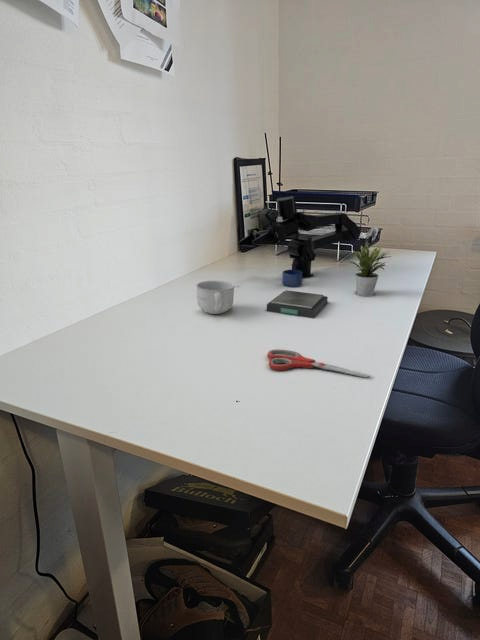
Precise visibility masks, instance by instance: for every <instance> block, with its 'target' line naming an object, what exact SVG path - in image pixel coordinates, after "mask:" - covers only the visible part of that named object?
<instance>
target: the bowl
mask: <svg viewBox="0 0 480 640" xmlns="http://www.w3.org/2000/svg"><path fill="white" fill-rule="evenodd" d="M281 283H282V286H284V287H287V288H297V287H300V286H302V284H303V278H302V271H300V270H292V269H285V270H282V272H281Z"/></svg>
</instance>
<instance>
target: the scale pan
mask: <svg viewBox="0 0 480 640" xmlns="http://www.w3.org/2000/svg"><path fill="white" fill-rule="evenodd" d="M282 292H283V293H282ZM282 292H281V293H282V294H281V293H280V294H278V295H279V296H278V295H277V296H278V297H277V296H276V297H277V298H276V297H274V298H275V299H274V298H273V299H274V300H273V299H272V300H273V301H272V300H271V301H270V302H271V303H273V304H280V305H287V306H294V307H301V308H308V309H312V308H313V307H314V306H315V305H316V304H317V303H318V302H319V301H320V300H321V299H322V298H323V297H324V296H325V295H324V294H320V293H313V292H312V293H311V292H304V291H296V290H288V289H286V290H284V291H282Z"/></svg>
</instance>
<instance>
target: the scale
mask: <svg viewBox="0 0 480 640" xmlns="http://www.w3.org/2000/svg"><path fill="white" fill-rule="evenodd" d="M283 292H284V291H282V292H281V293H280V294H282V293H283ZM280 294H278V295H277V296H276V297H274V298H273V299H272V300H271V301H273V300H274V299H275V298H277V297H278V296H279V295H280ZM328 298H329V296H327V295H324V297H323V298H322V299H321V300H320V301H319V302H318V303H317V304H316V305H315V306H314V307H313V308H312V309H308V308H301V307H294V306H287V305H280V304H273V303H271V301H269V302H268V303H266V312H272V313H279V314H284V315H285V314H286V315H292V316H299V317H305V318H311V319H312V318H313V319H314V318H315V317H316V316H317V315H318V314H319V312H320V311H322V309H323V308H324V307H325V306H326V305H327V304H328Z"/></svg>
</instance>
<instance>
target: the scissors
mask: <svg viewBox="0 0 480 640" xmlns="http://www.w3.org/2000/svg"><path fill="white" fill-rule="evenodd" d="M266 356H267V358H268V359H269V361H268V366H269V368H271V369H272V370H275V371H284V370H289V369H293V368H302V369H303V368H304V369H313V368H318V369H320V370H326V371H331V372H335V373H341V374H346V375H350V376H355V377H360V378H369V377H370V376H369V375H367V374H366V373H365V374H364V373H361V372H359V371H354V370H352V369H347V368H343V367H339V366H335V365H331V364H329V363H324V362H319V361H316V359H312V358H310V357H306V356H303V355H301V354H300V353H299V352H297V351H293V350H288V349H281V348H280V349H279V348H278V349H277V348H276V349H270V350H269V351H268V352H267V354H266Z"/></svg>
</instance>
